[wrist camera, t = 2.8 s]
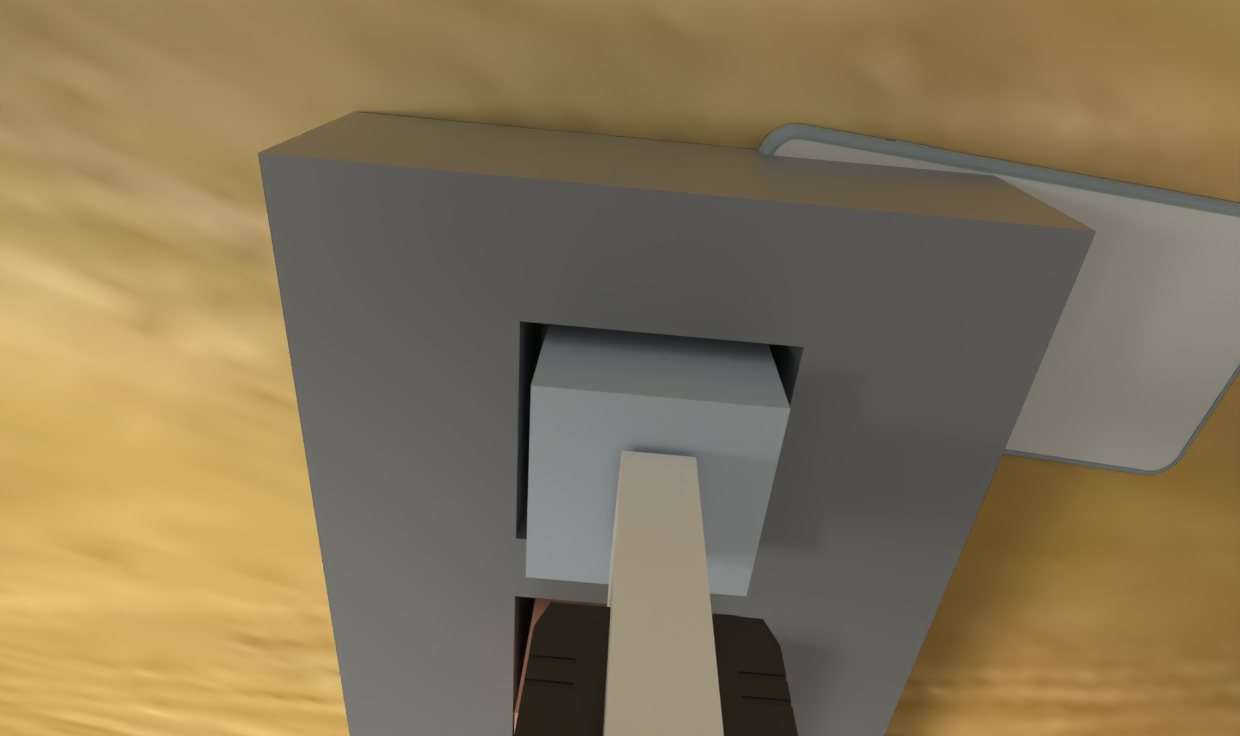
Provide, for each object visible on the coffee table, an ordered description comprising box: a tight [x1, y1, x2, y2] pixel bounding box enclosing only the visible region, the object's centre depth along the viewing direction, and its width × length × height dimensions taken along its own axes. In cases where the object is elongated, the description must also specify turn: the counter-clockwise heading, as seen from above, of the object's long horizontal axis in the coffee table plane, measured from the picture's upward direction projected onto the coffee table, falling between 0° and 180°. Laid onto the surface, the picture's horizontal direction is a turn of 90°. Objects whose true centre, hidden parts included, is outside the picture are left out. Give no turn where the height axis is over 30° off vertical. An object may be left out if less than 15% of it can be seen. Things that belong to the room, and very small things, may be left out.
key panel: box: [258, 112, 1096, 736], centre depth 22 cm, size 16×28×5 cm, turn 175°
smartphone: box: [758, 123, 1240, 475], centre depth 20 cm, size 8×1×15 cm
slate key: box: [526, 324, 790, 596], centre depth 16 cm, size 5×5×4 cm
